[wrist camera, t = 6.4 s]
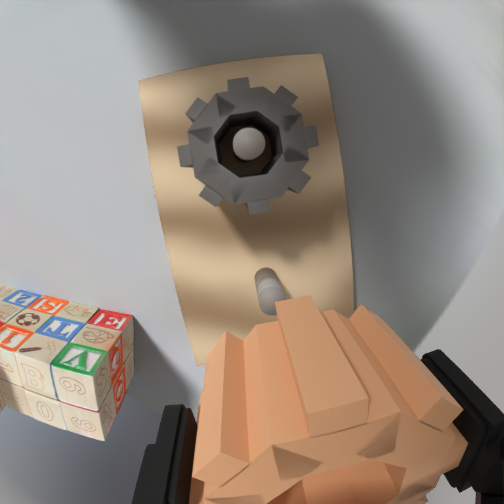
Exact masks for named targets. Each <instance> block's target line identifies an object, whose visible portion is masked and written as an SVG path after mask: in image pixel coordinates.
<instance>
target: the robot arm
mask: <svg viewBox="0 0 504 504" xmlns="http://www.w3.org/2000/svg"><path fill="white" fill-rule="evenodd" d="M421 361H422V363H423V364H424V365H425V366H426V367H427V368H428V369H429V370H430V372H431V373H432V374H433V375H434V376H435V377H436V378H437V380H438V381H439V382H440V383H441V384H442V385H443V386H444V388H445V389H446V390H447V391H448V392H449V393H450V394H451V396H452V397H453V398H454V399H455V400H456V401H457V403H458V404H459V405H460V406H461V407H462V409H463V411H462V412H461V413H460V414H459V415H458V416H457V417H456V418H455V419H454V420H453V421H452V423H453V424H454V425H455V427H456V428H457V429H458V430H459V432H460V433H461V434H462V436H463V437H464V438H465V440H466V441H467V442H468V445H467V447H466V450H465V452H464V454H463V456H462V459H461V461H460V463H459V465H458V467H456V468H454V469H452V470H450V471H448V472H446V473H444V475H445V477H446V479H447V480H448V482H449V484H450V485H451V486H452V487H454V488H455V487H457V489H458V491H459V492H462V491H464V490H466V489H468V488H469V487H471V486H472V487H473V489H474V491H475V492H476V499H475V504H504V414H503V413H502V412H501V411H500V409H499V408H498V407H497V406H496V405H495V404H494V403H493V402H492V401H491V400H490V399H489V398H488V397H487V396H486V395H485V394H484V393H483V392H482V391H481V390H480V389H479V388H478V387H477V386H476V385H475V384H474V383H473V381H471V380H470V379H469V377H468V376H467V375H466V374H465V373H463V372H462V371H461V369H460V368H458V366H456V365H455V363H453V362H452V361H451V360H450V359H449V358H448V357H447V356H446V355H445V354H444V353H443V352H442V351H441V350H439V349H437V350H435V351H432V352H429V353H426V354H424V355H423V357H422V359H421ZM196 434H197V423H196V421H195V418H194V416H193V413H192V411H191V409H190V408H185V406H184V405H183V404H180V405H166V406H165V408H164V411H163V415H162V420H161V423H160V427H159V431H158V435H157V439H156V443H155V444H149V445H148V446H147V447H146V450H145V454H144V457H143V461H142V465H141V469H140V472H139V476H138V480H137V484H136V489H135V492H134V496H133V501H132V504H189V498H190V488H191V479H192V469H193V460H194V451H195V443H196Z"/></svg>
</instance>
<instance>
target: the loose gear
mask: <svg viewBox="0 0 504 504" xmlns="http://www.w3.org/2000/svg"><path fill="white" fill-rule="evenodd" d="M275 306H276V312H277V318H278V321H274V322H268V323H263V324H258V325H255V327H254V328H253V329H252V330H251V332H250V333H249V334H248V336H247V337H246V338H245V339H244V341H243V340H241V339H239V338H238V337H236V336H234V335H232V334H231V333H229V332H227V331H226V332H225V333H224V334H223V336H222V337H221V338H220V340H219V341H218V342H217V343H216V345H215V346H214V347H213V349H212V350H211V351H210V353H209V354H208V357H207V364H206V371H205V378H204V386H203V393H202V395H200V401H199V408H198V416H197V434H196V443H195V451H194V460H193V469H192V479H191V488H190V498H189V504H425V503H426V502H427V501H428V500H427V498H426V496H425V495H426V494H427V493H428V492H430V491H431V490H432V489H433V488H435V487H436V485H437V482H438V480H439V478H440V476H441V474H444V473H446V472H448V471H450V470H452V469H454V468H456V467H458V465H459V463H460V461H461V459H462V456H463V454H464V452H465V450H466V447H467V445H468V442H467V441H466V440H465V438H464V437H463V436H462V434H461V433H460V432H459V430H458V429H457V428H456V427H455V425H454V424H453V423H452V421H453V420H454V419H455V418H456V417H457V416H458V415H459V414H460V413H461V412H462V411H463V409H462V407H461V406H460V405H459V404H458V403H457V401H456V400H455V399H454V398H453V397H452V396H451V394H450V393H449V392H448V391H447V390H446V389H445V388H444V386H443V385H442V384H441V383H440V382H439V381H438V380H437V378H436V377H435V376H434V375H433V374H432V373H431V372H430V370H429V369H428V368H427V367H426V366H425V365H424V364H423V363H422V361H421V360H420V359H419V358H418V357H417V356H416V355H415V354H414V353H413V351H412V350H411V349H410V348H409V347H408V346H407V345H406V344H405V343H404V342H403V341H402V339H401V338H400V337H399V336H398V335H397V334H396V333H395V332H394V331H393V330H392V329H391V328H390V326H389V325H388V324H387V323H386V322H385V321H384V320H383V319H382V318H380V317H379V316H378V315H376V314H375V313H373V312H372V311H371V310H369V309H368V308H366V307H365V306H364V305H362V304H360V306H359V307H358V308H357V310H356V311H355V312H354V313H353V315H352V316H351V317H350V318H349V319H347V318H346V317H344V316H343V315H341V314H340V313H338V312H337V311H335V310H334V309H332V310H328V311H323V312H320V311H319V309H318V308H317V306H316V304H315V303H314V301H313V299H312V297H311V296H310V295H308V296H303V297H298V298H293V299H287V300H282V301H277V302H275Z"/></svg>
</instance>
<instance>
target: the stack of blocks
mask: <svg viewBox="0 0 504 504" xmlns="http://www.w3.org/2000/svg"><path fill="white" fill-rule="evenodd" d="M133 345H134V328H133V315H129V314H123V313H117V312H112V311H106V310H100V309H99V308H97V307H92V306H88V305H83V304H78V303H73V302H69V301H65V300H61V299H57V298H53V297H49V296H45V295H44V296H42V295H38V294H34V293H30V292H26V291H23V290H18V289H14V288H11V287H7V286H4V285H0V412H1V411H2V410H3V408H4V407H5V406H7V407H9V408H11V409H13V410H16V411H18V412H21V413H23V414H25V415H28V416H30V417H33V418H35V419H37V420H40V421H42V422H44V423H47V424H50V425H52V426H55V427H58V428H61V429H64V430H69V431H71V432H74V433H78V434H81V435H84V436H87V437H90V438H94V439H97V440H101V441H105V439H106V437H107V435H108V432H109V430H110V428H111V425H112V423H113V421H114V419H115V416H116V415H117V413H118V411H119V409H120V407H121V404H122V402H123V399H124V397H125V394H126V391H127V389H128V387H129V384H130V382H131V380H132V377H133V375H134V348H133Z"/></svg>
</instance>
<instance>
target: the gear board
mask: <svg viewBox="0 0 504 504" xmlns="http://www.w3.org/2000/svg"><path fill="white" fill-rule="evenodd" d="M139 89H140V98H141V106H142V113H143V121H144V128H145V135H146V141H147V148H148V154H149V160H150V166H151V172H152V178H153V183H154V189H155V194H156V200H157V205H158V210H159V215H160V220H161V225H162V230H163V234H164V239H165V244H166V248H167V253H168V257H169V262H170V266H171V270H172V274H173V279H174V283H175V287H176V291H177V295H178V299H179V303H180V307H181V311H182V314H183V318H184V322H185V326H186V329H187V333H188V337H189V340H190V344H191V347H192V351H193V354H194V358H195V361H196V364H197V366H201V365H206V364H207V357H208V354H209V353H210V351H211V350H212V349H213V347H214V346H215V345H216V343H217V342H218V341H219V340H220V338H221V337H222V336H223V334H224V333H225V332H226V331H227V332H229V333H231V334H232V335H234V336H236V337H238V338H239V339H241V340H243V341H244V339H245V338H246V337H247V336H248V334H249V333H250V332H251V330H252V329H253V328H254V327H255V325H258V324H263V323H268V322H274V321H278V318H277V312H276V306H275V302H277V301H282V300H287V299H293V298H298V297H303V296H308V295H310V296H311V297H312V299H313V301H314V303H315V304H316V306H317V308H318V309H319V311H320V312H323V311H328V310H332V309H334V310H335V311H337V312H338V313H340V314H341V315H343V316H344V317H346V318H347V319H349V318H350V317H351V316H352V315H353V313H354V312H355V307H354V284H353V267H352V252H351V240H350V228H349V218H348V208H347V199H346V190H345V182H344V174H343V167H342V159H341V152H340V146H339V139H338V133H337V127H336V121H335V115H334V109H333V104H332V99H331V93H330V88H329V83H328V78H327V73H326V69H325V64H324V60H323V55H322V54H300V55H285V56H273V57H263V58H254V59H245V60H238V61H231V62H224V63H218V64H212V65H206V66H201V67H196V68H191V69H186V70H181V71H176V72H172V73H168V74H163V75H159V76H155V77H151V78H147V79H144V80H140V81H139Z"/></svg>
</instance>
